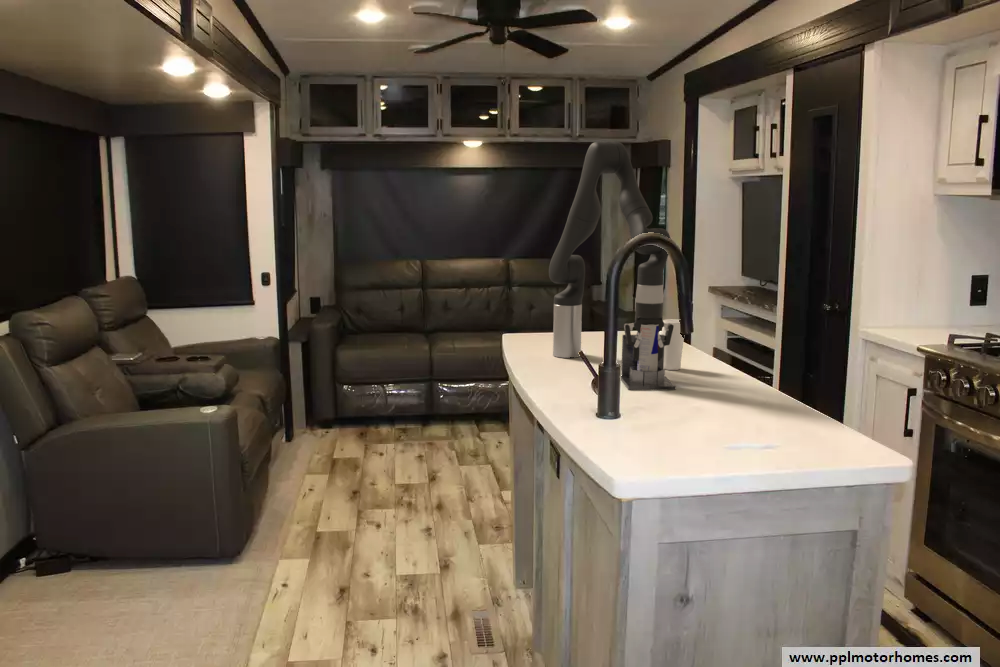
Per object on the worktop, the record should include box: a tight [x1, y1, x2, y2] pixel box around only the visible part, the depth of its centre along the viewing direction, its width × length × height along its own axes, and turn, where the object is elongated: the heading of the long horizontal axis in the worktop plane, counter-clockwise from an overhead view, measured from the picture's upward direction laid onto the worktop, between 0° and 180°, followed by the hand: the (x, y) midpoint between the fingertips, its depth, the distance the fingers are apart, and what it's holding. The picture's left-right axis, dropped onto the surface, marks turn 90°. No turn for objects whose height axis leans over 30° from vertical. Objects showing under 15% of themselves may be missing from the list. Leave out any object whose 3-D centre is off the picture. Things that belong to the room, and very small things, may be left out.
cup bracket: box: [620, 334, 677, 391], centre depth 231 cm, size 14×13×13 cm
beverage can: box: [637, 324, 660, 371], centre depth 231 cm, size 6×6×15 cm
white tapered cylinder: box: [661, 318, 685, 371], centre depth 251 cm, size 7×7×15 cm
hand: (647, 359), depth 231 cm, fingers closed on beverage can, 5 cm apart
